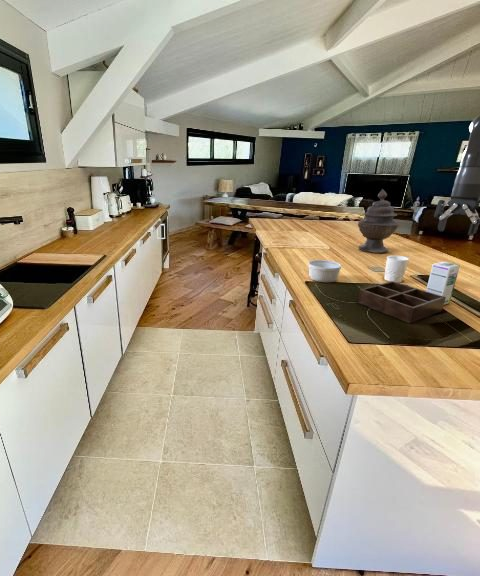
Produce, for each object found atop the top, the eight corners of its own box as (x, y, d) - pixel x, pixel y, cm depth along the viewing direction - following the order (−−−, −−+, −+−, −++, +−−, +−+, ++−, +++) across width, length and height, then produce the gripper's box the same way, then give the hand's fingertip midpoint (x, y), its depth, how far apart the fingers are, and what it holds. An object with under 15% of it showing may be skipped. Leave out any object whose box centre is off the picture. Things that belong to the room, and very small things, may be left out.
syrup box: (439, 306, 110) (451, 267, 105) (422, 300, 115) (432, 262, 110) (449, 303, 112) (461, 265, 107) (432, 297, 117) (442, 260, 112)
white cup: (381, 276, 141) (386, 254, 138) (402, 278, 138) (407, 256, 134) (383, 281, 135) (388, 259, 131) (404, 284, 131) (410, 261, 128)
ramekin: (327, 273, 146) (330, 258, 144) (345, 282, 134) (348, 267, 131) (301, 275, 144) (303, 260, 142) (316, 284, 132) (319, 269, 129)
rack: (441, 311, 107) (446, 297, 105) (409, 323, 99) (413, 308, 97) (388, 293, 122) (391, 280, 120) (357, 302, 114) (360, 289, 112)
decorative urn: (395, 255, 170) (404, 188, 160) (353, 253, 180) (360, 190, 170) (394, 249, 186) (402, 187, 176) (356, 248, 196) (362, 189, 186)
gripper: (504, 182, 95) (487, 235, 101) (450, 181, 107) (437, 228, 113) (492, 183, 92) (475, 237, 98) (438, 181, 104) (426, 230, 109)
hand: (455, 232), depth 105 cm, fingers open, 8 cm apart
